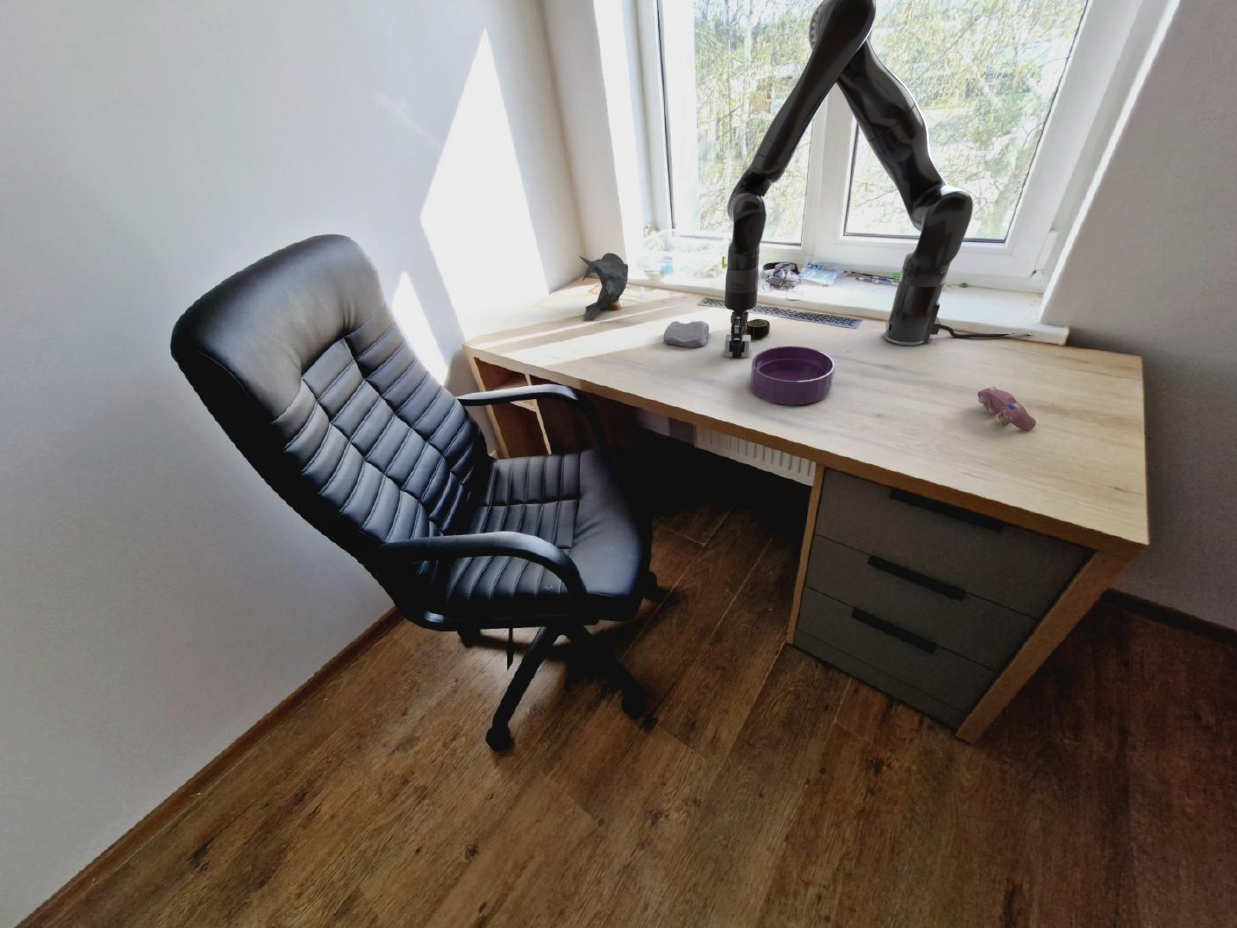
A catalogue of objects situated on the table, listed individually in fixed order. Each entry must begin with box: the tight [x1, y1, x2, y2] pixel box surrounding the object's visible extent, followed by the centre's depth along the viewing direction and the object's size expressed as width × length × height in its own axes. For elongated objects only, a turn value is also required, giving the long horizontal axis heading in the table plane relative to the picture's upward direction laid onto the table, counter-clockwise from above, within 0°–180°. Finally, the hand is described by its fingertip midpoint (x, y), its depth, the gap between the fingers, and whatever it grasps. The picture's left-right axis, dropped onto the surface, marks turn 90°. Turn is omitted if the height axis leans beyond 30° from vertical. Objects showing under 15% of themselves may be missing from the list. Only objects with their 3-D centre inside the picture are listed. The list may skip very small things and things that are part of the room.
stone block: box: [663, 320, 710, 349], centre depth 130 cm, size 12×5×10 cm
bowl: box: [749, 345, 836, 406], centre depth 104 cm, size 17×17×6 cm
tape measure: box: [744, 318, 771, 339], centre depth 127 cm, size 7×7×4 cm
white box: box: [724, 334, 752, 358], centre depth 120 cm, size 6×4×4 cm, turn 73°
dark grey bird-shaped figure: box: [578, 252, 629, 322], centre depth 150 cm, size 14×15×18 cm
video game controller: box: [977, 386, 1037, 431], centre depth 87 cm, size 10×5×7 cm, turn 5°
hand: (737, 353), depth 121 cm, fingers closed on white box, 4 cm apart
